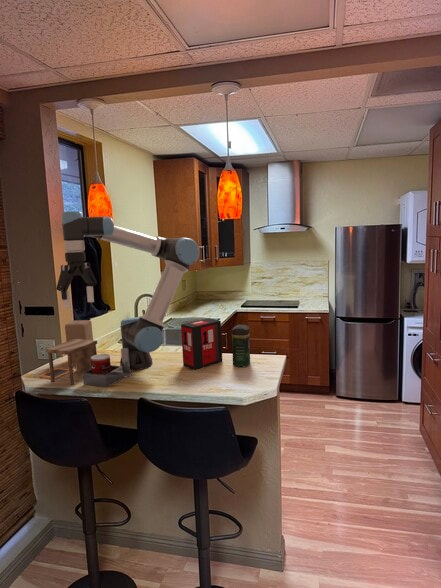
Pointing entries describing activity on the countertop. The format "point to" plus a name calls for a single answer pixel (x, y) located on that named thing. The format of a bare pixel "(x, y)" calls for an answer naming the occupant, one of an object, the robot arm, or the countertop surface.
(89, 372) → the gray open tray
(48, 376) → the frame
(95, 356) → the canned food
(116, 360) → the countertop surface
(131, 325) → the robot arm
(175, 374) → the countertop surface
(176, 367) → the countertop surface
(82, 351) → the small wooden table
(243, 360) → the coffee jar
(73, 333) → the wooden block
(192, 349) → the cleaning product box
